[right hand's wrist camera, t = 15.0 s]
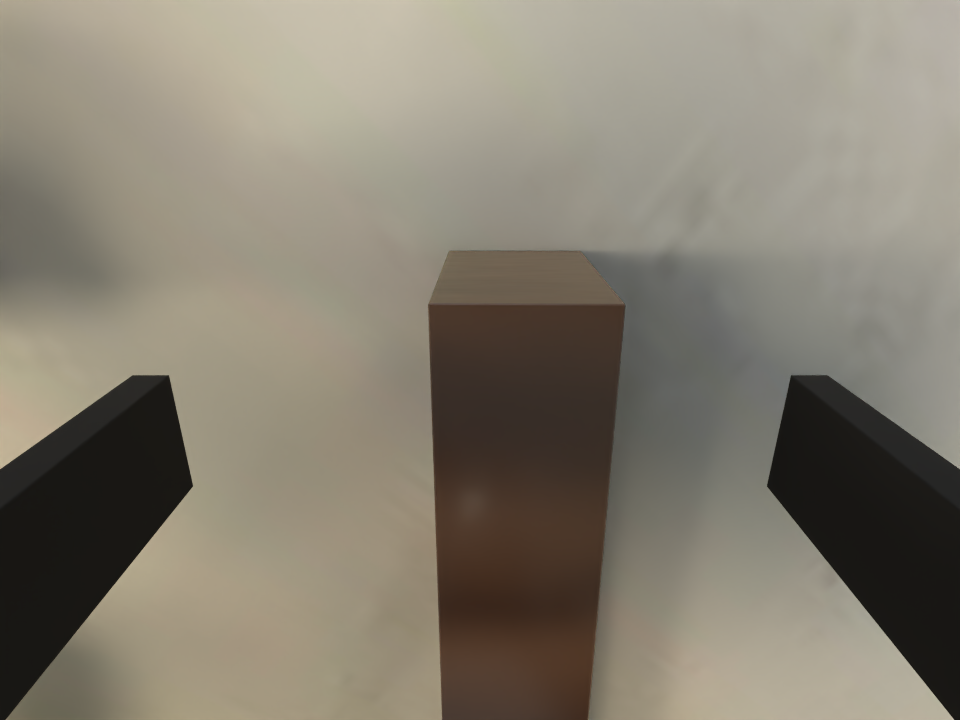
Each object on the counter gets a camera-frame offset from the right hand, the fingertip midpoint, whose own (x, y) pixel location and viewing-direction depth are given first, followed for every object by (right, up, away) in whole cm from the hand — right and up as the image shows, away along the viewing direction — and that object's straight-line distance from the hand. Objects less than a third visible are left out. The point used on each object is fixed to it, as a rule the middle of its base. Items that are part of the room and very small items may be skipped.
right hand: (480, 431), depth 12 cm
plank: (+1, -9, +16) cm, 18 cm away
